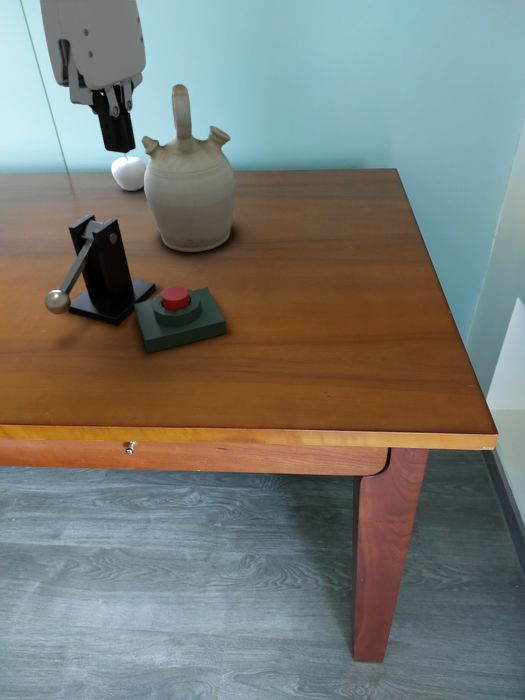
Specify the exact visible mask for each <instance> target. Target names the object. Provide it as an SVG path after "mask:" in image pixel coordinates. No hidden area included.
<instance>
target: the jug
mask: <svg viewBox="0 0 525 700" xmlns="http://www.w3.org/2000/svg"><path fill="white" fill-rule="evenodd" d="M170 94H171V109H172V119H173V127H174V136H173V138H172V139H171V140H170V141H168V142H167V143H166V144H164V145H160V141H159V140H158V139H153V138H151V137H150V136H148V135H144V136H143V137H142V138H141V144H142V146H143V148H144V154H145V155H147V156H149V157H150V158H149V159H148V162H147V164H146V170H145V176H144V184H143V189H144V195H145V199H146V202H147V204H148V207H149V210H150V213H151V215H152V218H153V221H154V223H155V226H156V228H157V230H158V233H159V235H160V237H161V239H162V241H163V244H164V245H165V246H167V247H168V248H169V249H171V250H174V251H177V252H182V253H200V252H205V251H211V250H213V249H215V248H217V247H219V246H221V245H223V244H224V243H225V242H226V241H227V240H228V239H229V237H230V235H231V229H232V224H233V215H234V209H235V208H234V207H235V198H236V180H235V179H236V178H235V174H234V173H235V172H234V169H233V168H232V165H231V163H230V161H229V159H228V157H227V156H226V154H225V153H224V152H223V150H222V147H223V146H224V145H226V144H227V143H228V142H230V141H231V139H232V138H231V136H230V135H229V134H228V133H227V132H225V131H224V130H222V129H221V128H219V127H217V126H215V125H210V126H209V132H208V137H207V138H206V139H198V138H196V137H194V135H193V134H192V133H193V125H192V111H191V102H190V95H189V90H188V88H187V87H186V86H185V85H184V84H180V83H177V84H175V85H173V86H172V87H171V91H170Z"/></svg>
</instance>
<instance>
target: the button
mask: <svg viewBox="0 0 525 700" xmlns="http://www.w3.org/2000/svg"><path fill="white" fill-rule="evenodd" d="M187 289H188V288H186V287H184V286H182V285H173V286H169V287H166V288H165V289H164V290H163V291H162V292H161V293H162V300H163V305H164V308H165V309H167V310H174V311H176V310H180V309H184V308H186V307H187V306H189V304H190V300H189V293H188V290H187Z"/></svg>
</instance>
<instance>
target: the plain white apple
mask: <svg viewBox="0 0 525 700" xmlns="http://www.w3.org/2000/svg"><path fill="white" fill-rule="evenodd" d="M122 155H123V156H124V157H120V158H118V159H116V160H114V162H112V165H111V174H112V177H113V178H114V180H115V181H116V183H117V184H118V185H119V186H120V188H121V189H122V190H124V191H128V192H130V191H132V192H133V191H134V192H135V191H138V190H140V189H142V188H143V187H144V176H145V170H146V167H147V165H146V164H145V162H144V161H143V160H142V159H141V158H140V157H137V156H128V155H127V153H122Z"/></svg>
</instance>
